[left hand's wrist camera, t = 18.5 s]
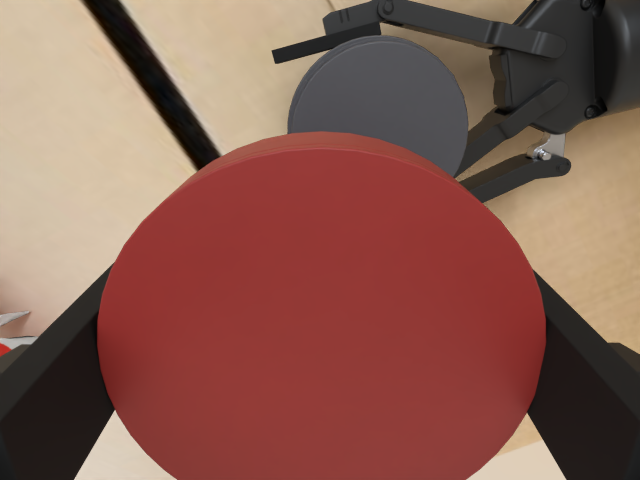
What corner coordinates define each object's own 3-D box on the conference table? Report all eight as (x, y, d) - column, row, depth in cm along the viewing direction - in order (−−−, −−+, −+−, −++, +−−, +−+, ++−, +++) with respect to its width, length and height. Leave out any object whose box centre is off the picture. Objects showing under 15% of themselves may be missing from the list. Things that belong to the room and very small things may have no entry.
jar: (434, 82, 35) (515, 96, 20) (376, 181, 38) (409, 255, 23) (334, 22, 33) (343, -9, 19) (281, 129, 36) (253, 175, 22)
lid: (64, 194, 11) (9, 222, 9) (484, 77, 10) (523, 82, 8) (210, 487, 15) (193, 553, 13) (528, 424, 14) (562, 484, 12)
